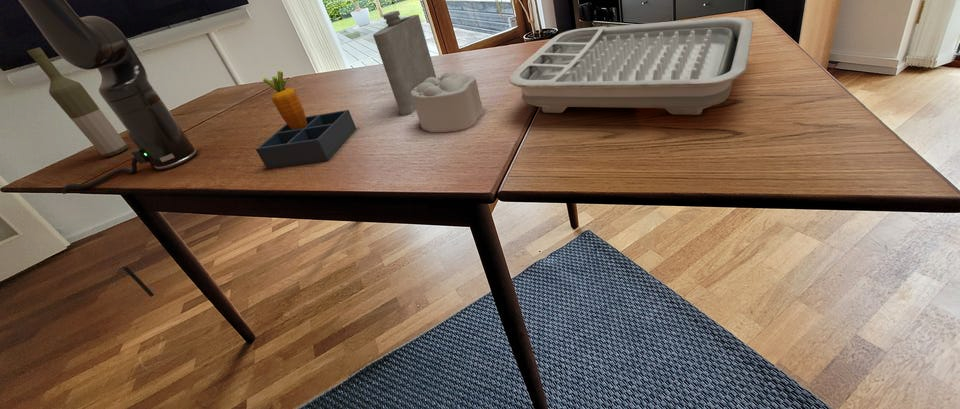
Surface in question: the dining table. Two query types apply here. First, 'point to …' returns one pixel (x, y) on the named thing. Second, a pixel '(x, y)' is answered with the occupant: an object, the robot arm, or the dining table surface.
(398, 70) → the hip flask
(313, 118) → the four-compartment tray
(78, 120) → the bottle
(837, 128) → the dining table surface
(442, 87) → the lumpy-topped squat cylinder
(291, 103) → the carrot
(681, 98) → the dish rack
